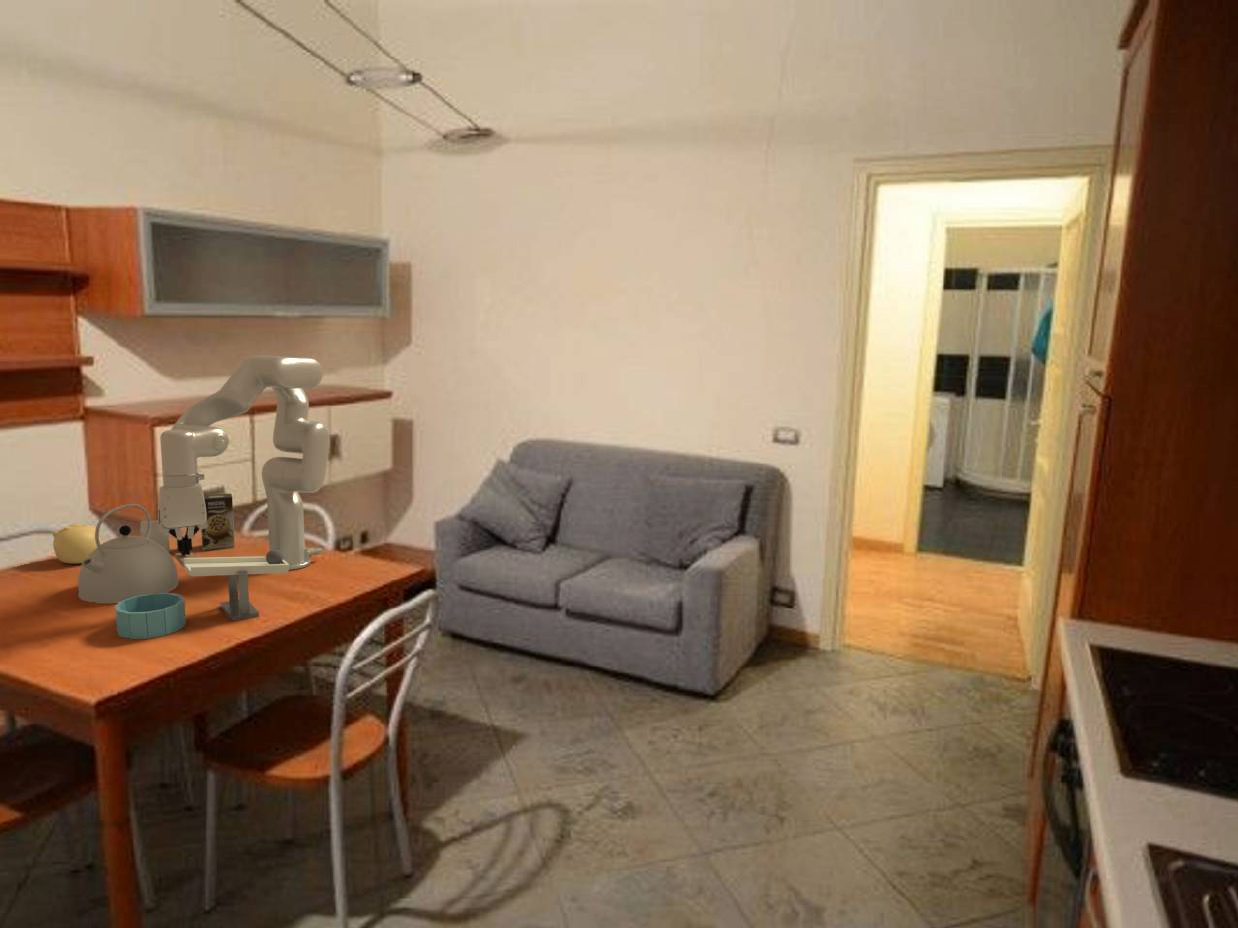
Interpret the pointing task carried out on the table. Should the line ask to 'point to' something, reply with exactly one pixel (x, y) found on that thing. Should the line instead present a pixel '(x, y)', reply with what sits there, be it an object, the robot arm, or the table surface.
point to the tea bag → (155, 534)
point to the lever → (229, 565)
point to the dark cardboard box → (218, 522)
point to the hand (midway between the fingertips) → (185, 553)
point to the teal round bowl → (150, 615)
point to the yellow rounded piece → (74, 543)
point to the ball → (274, 557)
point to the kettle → (126, 566)
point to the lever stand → (241, 606)
